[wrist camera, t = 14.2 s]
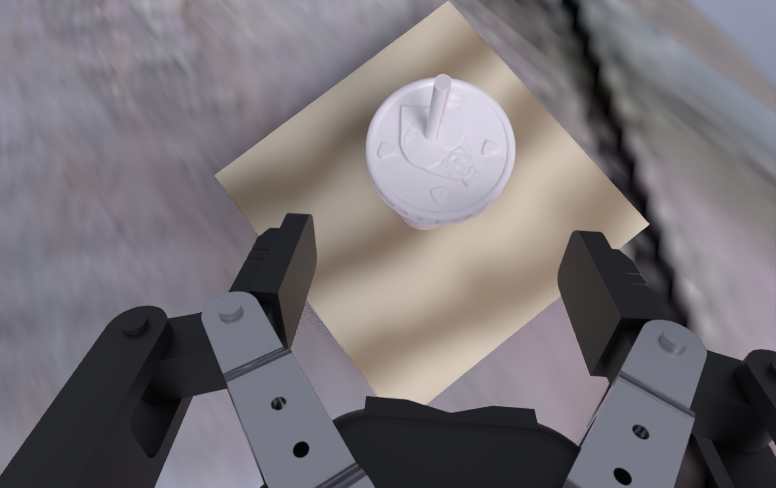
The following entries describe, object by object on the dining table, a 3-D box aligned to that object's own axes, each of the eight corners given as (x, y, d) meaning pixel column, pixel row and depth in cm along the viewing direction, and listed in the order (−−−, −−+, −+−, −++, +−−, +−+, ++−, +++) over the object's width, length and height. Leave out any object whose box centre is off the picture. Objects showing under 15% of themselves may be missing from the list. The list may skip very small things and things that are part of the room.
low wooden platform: (252, 200, 35) (214, 175, 28) (439, 58, 36) (448, 0, 29) (400, 398, 32) (399, 425, 25) (598, 239, 33) (649, 224, 26)
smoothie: (426, 135, 28) (457, -34, 14) (495, 204, 27) (601, 98, 13) (354, 200, 27) (312, 90, 13) (422, 272, 26) (452, 236, 12)
